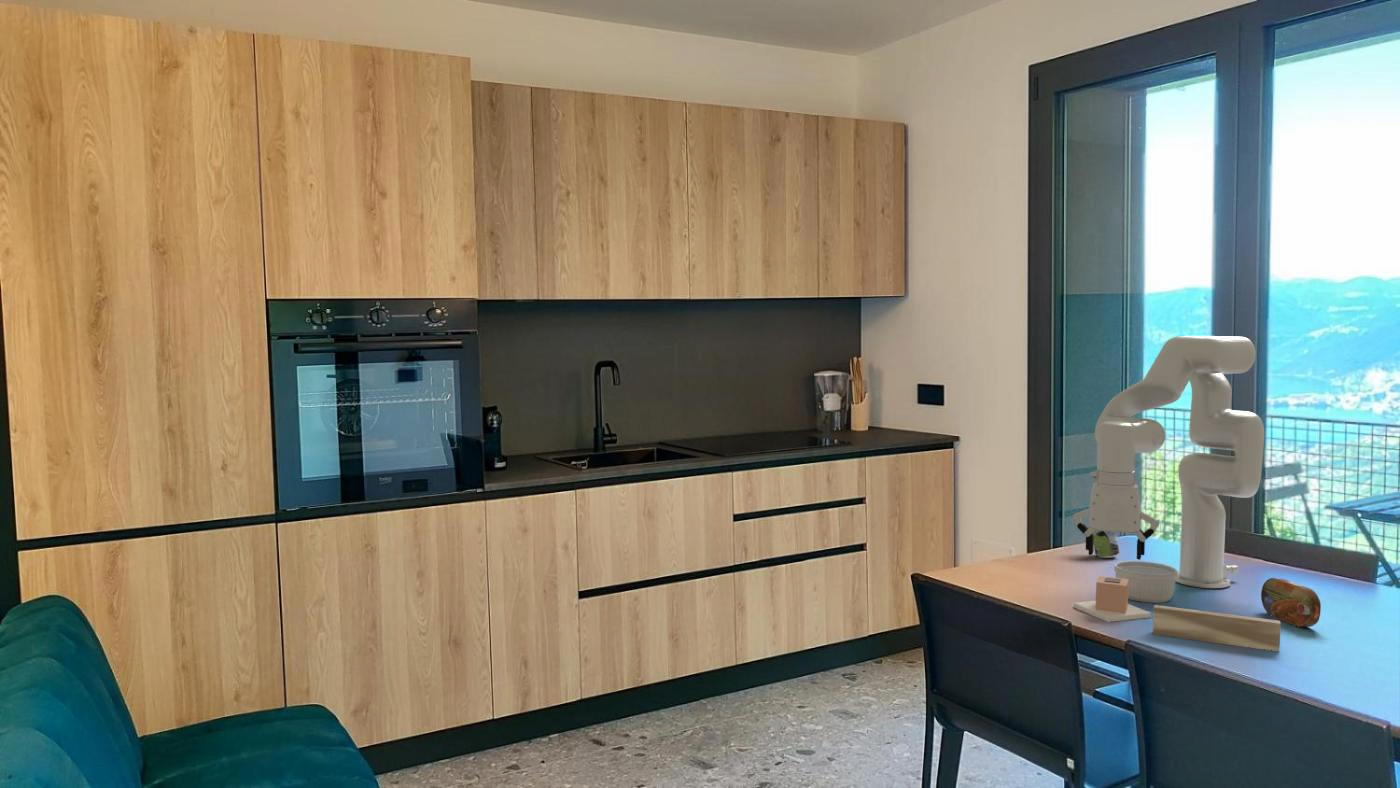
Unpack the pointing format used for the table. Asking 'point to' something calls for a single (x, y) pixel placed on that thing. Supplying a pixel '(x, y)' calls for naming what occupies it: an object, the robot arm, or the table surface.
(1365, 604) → the table surface
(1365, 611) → the table surface
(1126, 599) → the marked cube
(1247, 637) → the wooden plank
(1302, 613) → the tin
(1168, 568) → the ramekin
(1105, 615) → the display tile
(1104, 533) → the beverage can
